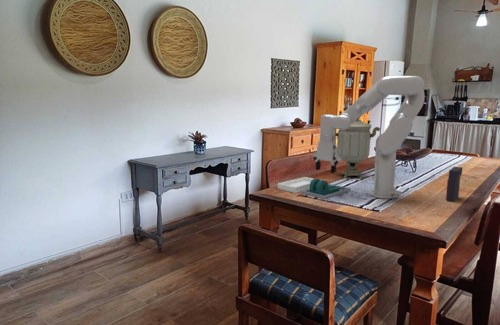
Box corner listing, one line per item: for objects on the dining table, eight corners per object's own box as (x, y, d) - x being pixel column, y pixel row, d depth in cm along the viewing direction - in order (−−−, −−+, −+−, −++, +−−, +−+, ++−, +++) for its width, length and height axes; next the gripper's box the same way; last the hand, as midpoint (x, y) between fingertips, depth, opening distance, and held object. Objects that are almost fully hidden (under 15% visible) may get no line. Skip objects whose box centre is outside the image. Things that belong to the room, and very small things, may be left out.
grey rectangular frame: (350, 191, 192) (350, 188, 192) (324, 199, 178) (324, 196, 177) (328, 186, 203) (328, 183, 203) (301, 193, 188) (301, 190, 188)
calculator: (450, 195, 181) (452, 166, 178) (459, 197, 178) (462, 167, 175) (445, 200, 172) (447, 169, 170) (455, 202, 170) (458, 170, 167)
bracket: (319, 197, 183) (319, 181, 181) (309, 194, 188) (309, 179, 187) (342, 191, 193) (343, 176, 192) (332, 188, 198) (333, 174, 197)
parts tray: (322, 185, 205) (322, 180, 205) (294, 193, 190) (294, 187, 190) (305, 181, 215) (305, 176, 214) (277, 188, 199) (277, 183, 199)
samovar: (381, 173, 235) (384, 111, 228) (374, 181, 212) (377, 113, 205) (335, 169, 248) (337, 111, 241) (324, 177, 226) (326, 112, 218)
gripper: (345, 139, 182) (343, 173, 185) (318, 136, 194) (316, 167, 197) (337, 140, 177) (334, 175, 180) (309, 137, 189) (307, 169, 193)
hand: (325, 171), depth 189 cm, fingers open, 9 cm apart
